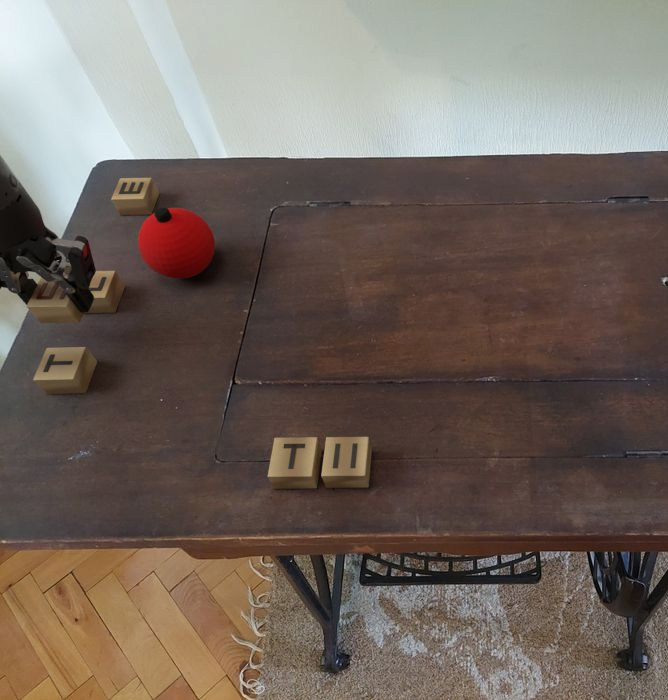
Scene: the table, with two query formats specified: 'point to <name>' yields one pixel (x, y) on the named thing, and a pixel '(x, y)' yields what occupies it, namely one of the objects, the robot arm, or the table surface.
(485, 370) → the table surface
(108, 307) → the letter l tile
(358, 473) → the near tile
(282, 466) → the near tile
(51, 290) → the tile
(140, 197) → the far tile
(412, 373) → the table surface
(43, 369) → the letter t tile
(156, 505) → the table surface
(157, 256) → the ornament
